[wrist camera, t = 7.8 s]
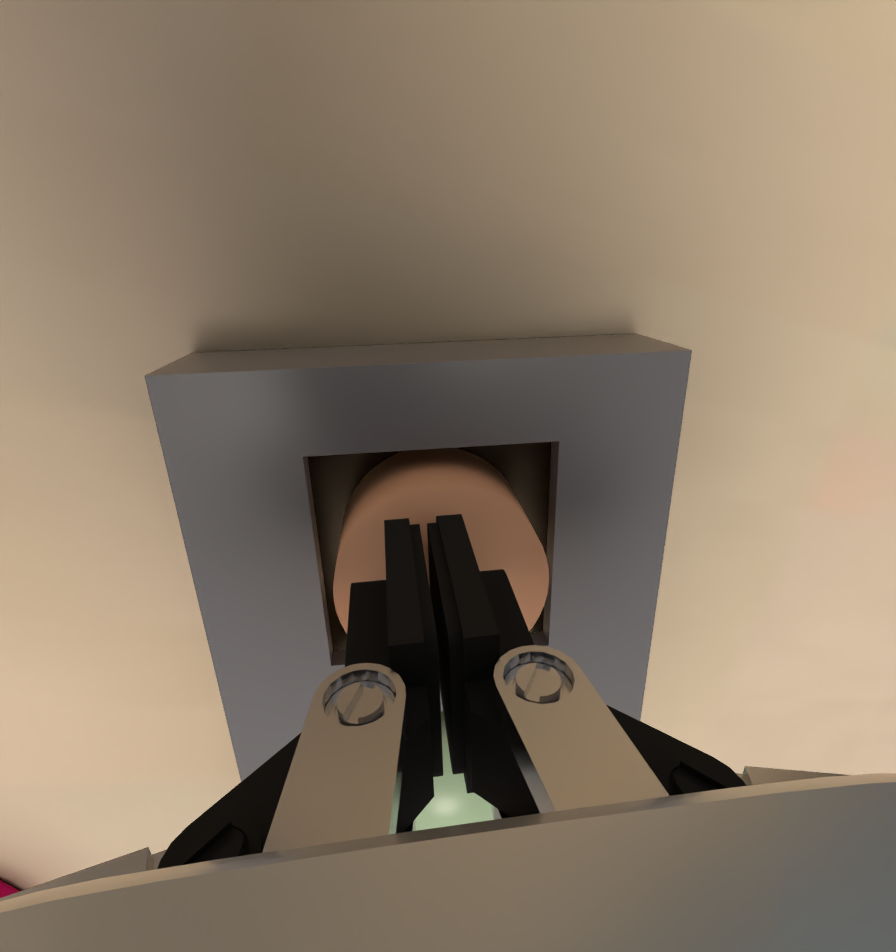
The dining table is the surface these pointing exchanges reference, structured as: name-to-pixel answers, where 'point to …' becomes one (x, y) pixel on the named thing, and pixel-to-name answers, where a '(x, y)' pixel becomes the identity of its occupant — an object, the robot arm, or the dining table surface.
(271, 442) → the button panel
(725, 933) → the robot arm
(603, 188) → the dining table surface
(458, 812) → the sage button
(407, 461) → the terracotta button
